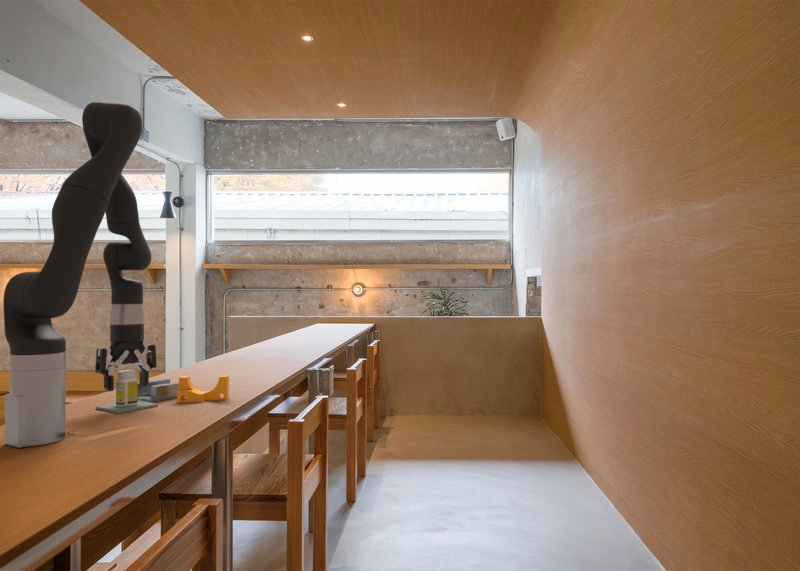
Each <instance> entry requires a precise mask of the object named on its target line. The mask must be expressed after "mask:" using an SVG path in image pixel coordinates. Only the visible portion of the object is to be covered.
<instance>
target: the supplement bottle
mask: <svg viewBox="0 0 800 571" xmlns="http://www.w3.org/2000/svg"><path fill="white" fill-rule="evenodd" d="M136 374H137V372H136V369H125V370H119V371H117V379H116V380H115V403H116V406H118V407H127V406H134V405H136V404H137V403H138V391H137V382H138V378H137V377H136Z"/></svg>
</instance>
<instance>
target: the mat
mask: <svg viewBox="0 0 800 571" xmlns="http://www.w3.org/2000/svg"><path fill="white" fill-rule="evenodd" d="M158 406H159V404H158V403H156V402H152V403H150V402H144V401H138V403H137V404H136V405H134V406H127V407H118V406H116V402H114V403H110V404H109V403H108V404H104V405H103V404H102V405H96V406H95V410H98V411H104V412H109V413H114V414H122V413H129V412H134V411H140V410H144V409H145V410H146V409H150V408H156V407H158Z"/></svg>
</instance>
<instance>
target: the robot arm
mask: <svg viewBox="0 0 800 571" xmlns="http://www.w3.org/2000/svg"><path fill="white" fill-rule="evenodd" d="M81 119H82V120H81V122H82V129H83V134H84V136H85V137H84V138H85V140H86V144H87V146H88V150H89V153H90V157H91V158H90V159H88V161H86V162H84V163H83V164H82V165H81V166H80V167H78V168H77V169H76V170H74V171H73V172H72V173H70V175H68V176H67V177H66V179H65V180H64V181H63V183H62V185H61V187H60V189H59V192H58V194H57V195H56V198H55V200H54V203H53V205H52V209H51V224H52V230H53V243H52V247H51V250H50V252H49V255H48V257H47V259H46V260H45V263H44V265H43V267H42V268H41V270H40V271H24V272H20V273H16V274H15V275H14V276H12V277H11V278H10V279H9V280H8V282H7V283H6V285H5V288H4V291H3V292H4V293H3V301H2V302H3V304H2V305H3V323H4V335H5V336H4V337H5V339H6V341H7V343H8V346H9V393H8V392H7V393H5V395H4V444H6V445H9V446H11V447H15V448H25V447H35V446H43V445H47V444H53V443H57V442H60V441H62V440H64V439H65V438H66V429H67V428H66V427H67V426H66V400H67V399H66V388H67V387H66V385H67V384H66V381H67V380H66V378H67V377H66V376H67V375H66V374H67V371H66V369H67V367H66V366H67V365H66V363H67V361H66V360H67V353H66V351H67V342H66V341H67V340H66V338H65V337H64V336H63V335H61V334H59V333H58V332H57V331H56V330H55V329H54V327H53V323H52V319H56V318H59V317H62V316H64V315H65V314H66V313H68V311H69V310H71V308H72V306H73V305H74V303H75V300H76V298H77V294H78V292H79V288H80V284H81V280H82V277H83V273H84V269H85V265H86V263H87V259H88V256H89V253H90V251H91V250H92V249H91V248H92V247H93V246H92V245H93V242H94V240H95V238H96V236H97V232H98V230H99V227H100V226H101V223H102V221H103V219H104V216H105V219H106V225H107V230H108V232H110V233H111V234H114V235H118V236H122V237H125V238H126V239H128V240H129V241H110V242H108V243H107V244H106V245H105V247H104V250H103V253H102V256H103V262H104V265H105V269H106V270H107V274H108V277H109V278H108V279H109V282H110V283H109V284H110V289H111V293H110V294H111V302H110V303H111V306H110V313H109V342H110V346H109V347H108V348H105V347H97V349H96V352H95V354H96V355H95V366H94V367H95V369H94V372H95V373H96V374H99V375H102V376H103V389H105V391H106V392H113V391H114V390H115V389H114V388H115V387H114V385H115V382H114V381H115V380H114V378H115V377H114V373H115V372H116V370H117V369H118V368H120V366H121V365H128V364H135V365H136V366H137V367H138V368H139V385H140V386H142V387H145V386H147V384H148V382H149V381H150V380H149V377H150V376H149V374H150V371H151V370H152V369H155V368H156V367H157V350H156V345H155V344H152V343H149V344H145V345H144V340H145V311H144V310H145V309H144V304H143V303H144V286H143V283H142V282H141V281H140V280H136V279H131V278H128V277H125V276H124V273H123V271H144V270H146V269H147V268H149V267H150V264H151V262H152V252H151V249H150V247H149V244H148V242H147V240H146V238H145V235H144V233H143V230H142V227H141V224H140V217H139V216H140V215H139V210H138V209H139V208H138V203H137V198H136V195H135V192H134V191H133V188H132V187H131V185H130V183H129V182H128V180H126V178H125V176H124V175H123V173H122V172H123V170H124V168H125V167H126V165H127V163H128V161H129V160H130V157H131V156H132V154H133V151H134V150H135V148H136V147H137V145H138V142H139V140H140V138H141V135H142V130H143V118H142V115H141V112H140V111H139V109H137V108H136V107H135V106H133V105H130V104H124V103H114V102H111V103H110V102H101V101H100V102H99V101H98V102H97V101H95V102H94V101H93V102H90V103H88V104H87V105H86V106H85V107H84V109H83V112H82V117H81ZM144 353H145V357H146V358H144V356H143V354H144ZM109 355H110V356H111V358H110V359H109V360H108V362H107V358H108V357H109Z"/></svg>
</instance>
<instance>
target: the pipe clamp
mask: <svg viewBox="0 0 800 571" xmlns="http://www.w3.org/2000/svg"><path fill="white" fill-rule="evenodd" d="M178 382H179V391H177V397H176V403H179V404H180V403H204V402H205V401H218V400H221V401H222V400H228V399H230V398H229V397H230V396H229V395H230V375H220V376H219V377H218V381H217V384H216V385H215V387H214V388H213V389H210V390H205V391H203V390H199V389H198V388H196V387H195V386H194V385H193V384H192V381H191V376H189V375H188V376H186V375H185V376H184V375H183V376H179V378H178ZM222 395H223V396H222Z"/></svg>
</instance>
